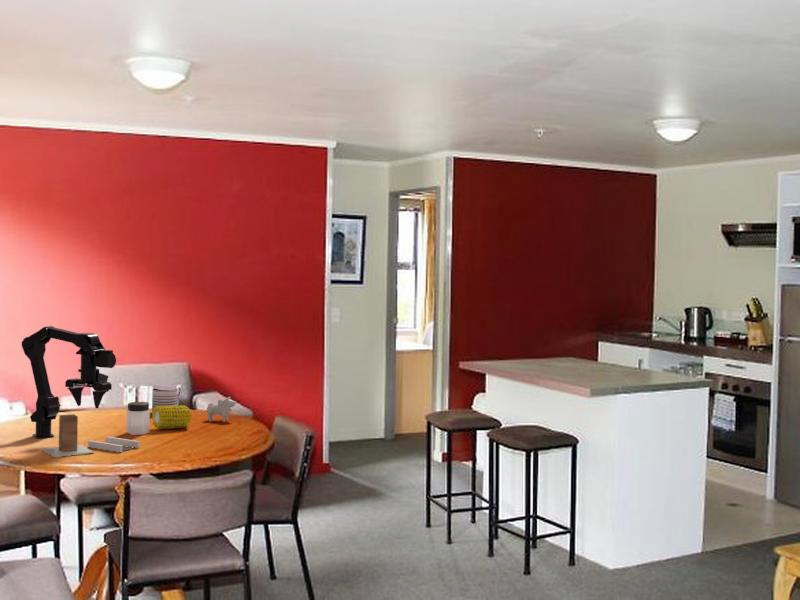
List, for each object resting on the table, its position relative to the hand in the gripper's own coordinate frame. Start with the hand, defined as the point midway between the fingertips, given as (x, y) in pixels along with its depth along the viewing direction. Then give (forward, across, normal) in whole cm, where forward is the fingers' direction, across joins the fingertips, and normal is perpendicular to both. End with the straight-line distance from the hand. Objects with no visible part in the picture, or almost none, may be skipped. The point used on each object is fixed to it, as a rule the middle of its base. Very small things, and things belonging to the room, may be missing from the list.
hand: (88, 407), depth 342 cm
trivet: (+13, -9, +18) cm, 24 cm away
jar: (+13, -5, -22) cm, 26 cm away
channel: (+13, -17, +4) cm, 22 cm away
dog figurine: (+13, -14, -63) cm, 66 cm away
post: (+12, -9, +18) cm, 23 cm away
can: (+13, +18, -64) cm, 68 cm away
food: (+13, -10, -37) cm, 40 cm away
